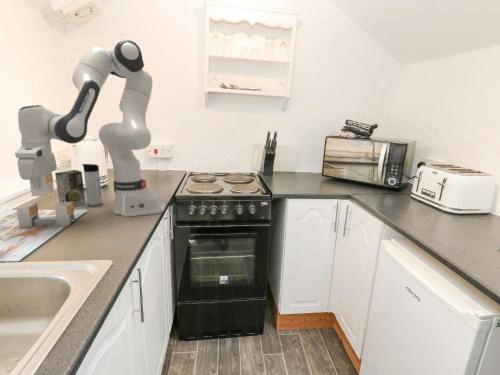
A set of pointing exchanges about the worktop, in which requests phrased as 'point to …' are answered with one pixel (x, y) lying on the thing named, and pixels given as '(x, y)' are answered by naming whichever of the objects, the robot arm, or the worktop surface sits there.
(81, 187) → the coffee box
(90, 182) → the travel mug
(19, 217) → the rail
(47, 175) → the notched cream cube
